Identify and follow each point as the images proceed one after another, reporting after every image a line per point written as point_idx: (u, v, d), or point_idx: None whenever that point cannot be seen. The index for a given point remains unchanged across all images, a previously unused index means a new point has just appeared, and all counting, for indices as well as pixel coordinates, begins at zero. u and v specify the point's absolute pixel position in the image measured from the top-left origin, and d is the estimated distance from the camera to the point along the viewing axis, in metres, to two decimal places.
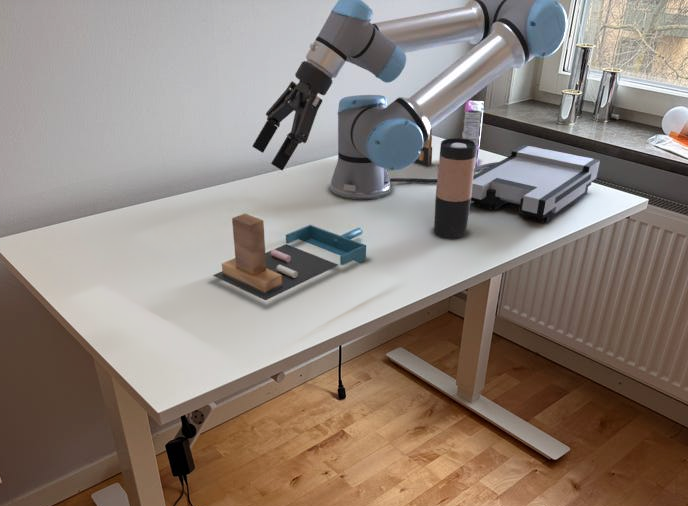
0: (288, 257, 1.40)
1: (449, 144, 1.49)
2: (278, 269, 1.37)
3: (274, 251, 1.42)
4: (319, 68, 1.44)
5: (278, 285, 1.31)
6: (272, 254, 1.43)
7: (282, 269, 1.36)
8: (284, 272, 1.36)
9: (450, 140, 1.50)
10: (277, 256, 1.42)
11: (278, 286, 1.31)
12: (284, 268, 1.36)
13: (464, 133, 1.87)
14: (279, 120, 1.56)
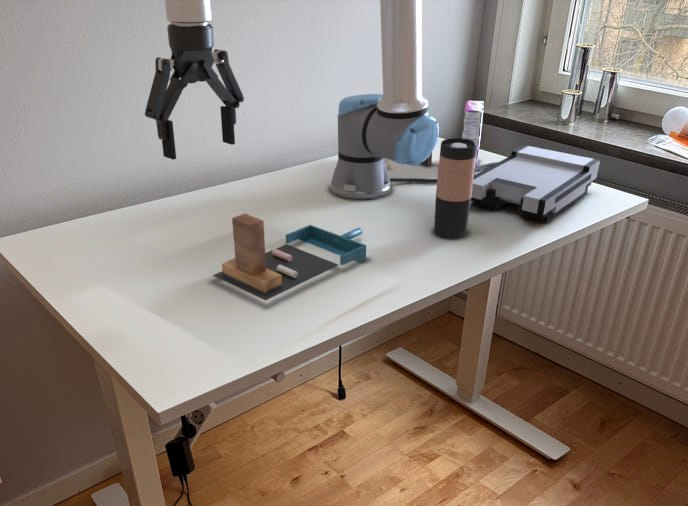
0: (290, 256, 1.41)
1: (449, 144, 1.49)
2: (278, 269, 1.37)
3: (277, 250, 1.43)
4: (171, 23, 1.17)
5: (278, 285, 1.31)
6: (274, 252, 1.43)
7: (283, 269, 1.36)
8: (284, 272, 1.36)
9: (450, 140, 1.50)
10: (279, 254, 1.42)
11: (278, 286, 1.31)
12: (284, 268, 1.36)
13: (464, 133, 1.87)
14: (226, 100, 1.28)
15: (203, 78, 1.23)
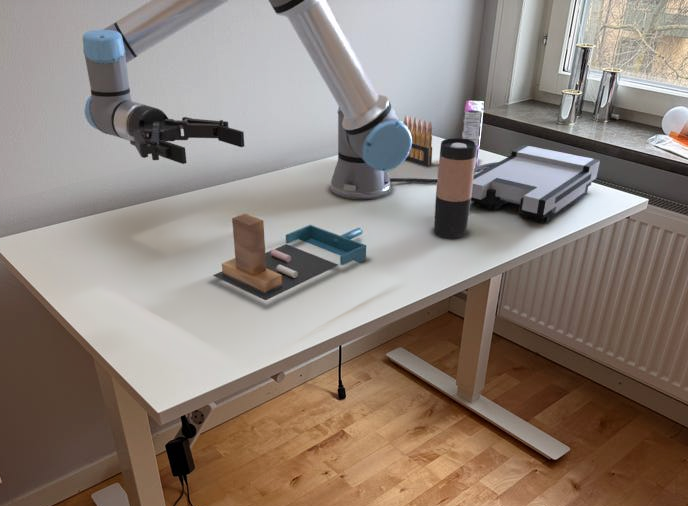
0: (288, 257, 1.41)
1: (449, 144, 1.49)
2: (278, 269, 1.37)
3: (274, 251, 1.42)
4: None
5: (278, 285, 1.31)
6: (272, 254, 1.43)
7: (282, 269, 1.36)
8: (284, 272, 1.36)
9: (450, 140, 1.50)
10: (277, 256, 1.42)
11: (278, 286, 1.31)
12: (284, 268, 1.36)
13: (464, 133, 1.87)
14: (211, 127, 1.34)
15: (175, 126, 1.33)
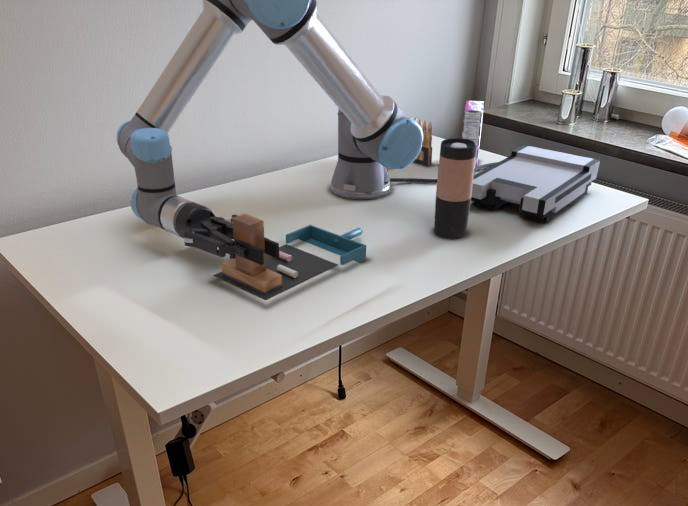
0: (289, 256, 1.41)
1: (449, 144, 1.49)
2: (278, 268, 1.37)
3: None
4: None
5: (278, 285, 1.31)
6: None
7: (283, 269, 1.36)
8: (284, 271, 1.36)
9: (450, 140, 1.50)
10: None
11: (278, 286, 1.31)
12: (285, 268, 1.36)
13: (464, 133, 1.87)
14: None
15: (221, 225, 1.35)
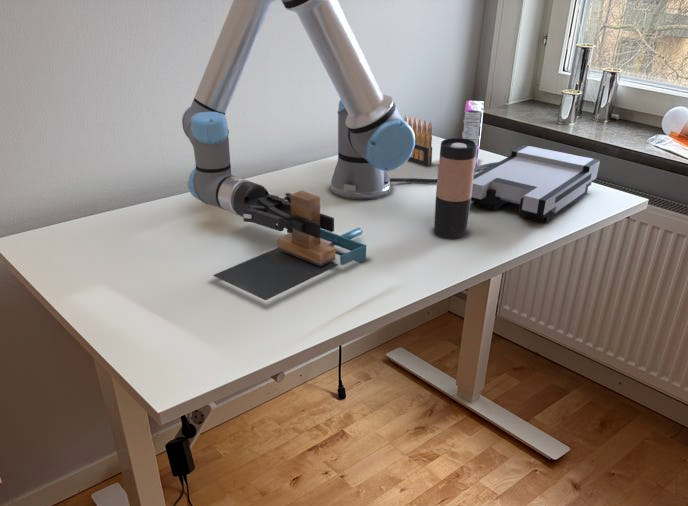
0: (330, 244, 1.49)
1: (449, 144, 1.49)
2: None
3: None
4: None
5: (331, 258, 1.40)
6: None
7: (339, 253, 1.47)
8: None
9: (450, 140, 1.50)
10: None
11: (332, 259, 1.40)
12: (339, 252, 1.47)
13: (464, 133, 1.87)
14: None
15: (277, 202, 1.44)
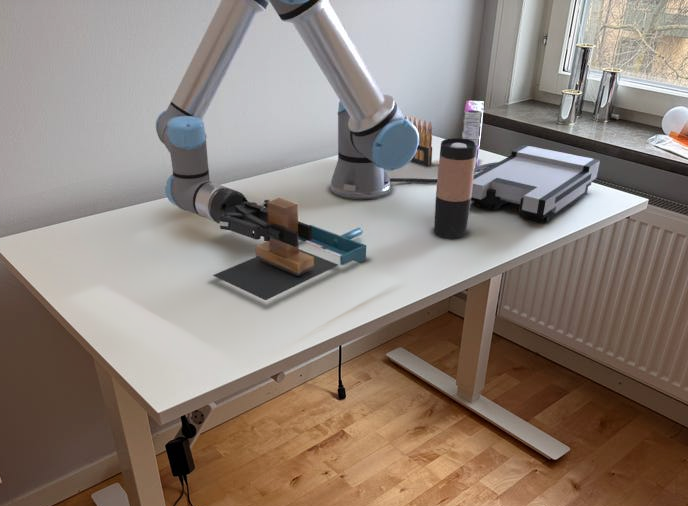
0: None
1: (449, 144, 1.49)
2: (326, 250, 1.46)
3: None
4: None
5: (310, 267, 1.37)
6: (309, 241, 1.50)
7: (331, 251, 1.45)
8: (332, 253, 1.45)
9: (450, 140, 1.50)
10: (314, 243, 1.49)
11: (310, 268, 1.37)
12: (333, 251, 1.45)
13: (464, 133, 1.87)
14: None
15: (255, 209, 1.41)
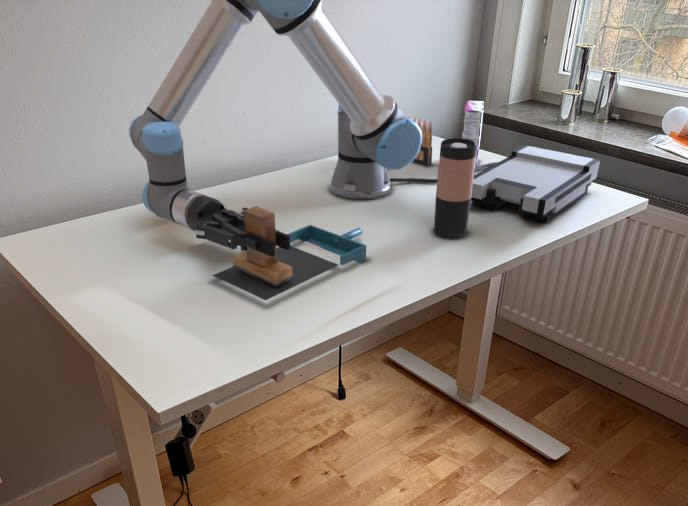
0: None
1: (449, 144, 1.49)
2: None
3: None
4: None
5: (288, 277, 1.33)
6: (305, 242, 1.49)
7: None
8: None
9: (450, 140, 1.50)
10: (310, 244, 1.48)
11: (289, 278, 1.33)
12: None
13: (464, 133, 1.87)
14: None
15: (232, 218, 1.37)
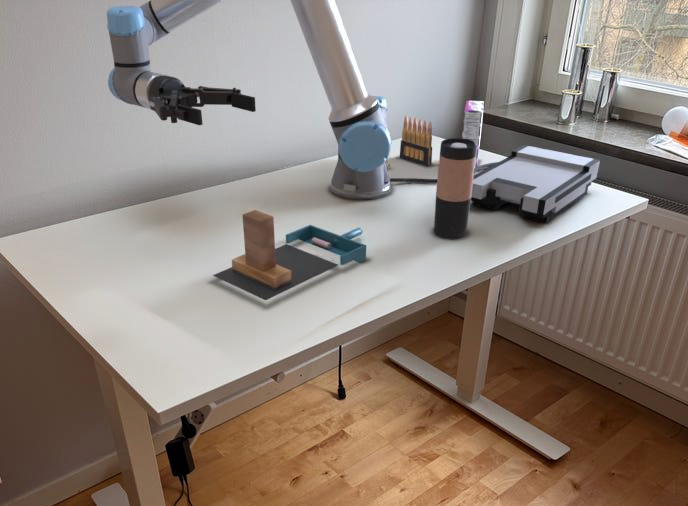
0: (328, 246, 1.49)
1: (449, 144, 1.49)
2: None
3: (314, 242, 1.51)
4: None
5: (287, 281, 1.33)
6: (314, 243, 1.51)
7: None
8: None
9: (450, 140, 1.50)
10: (319, 245, 1.50)
11: (288, 282, 1.33)
12: None
13: (464, 133, 1.87)
14: (225, 94, 1.45)
15: (192, 94, 1.44)
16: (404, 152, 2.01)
